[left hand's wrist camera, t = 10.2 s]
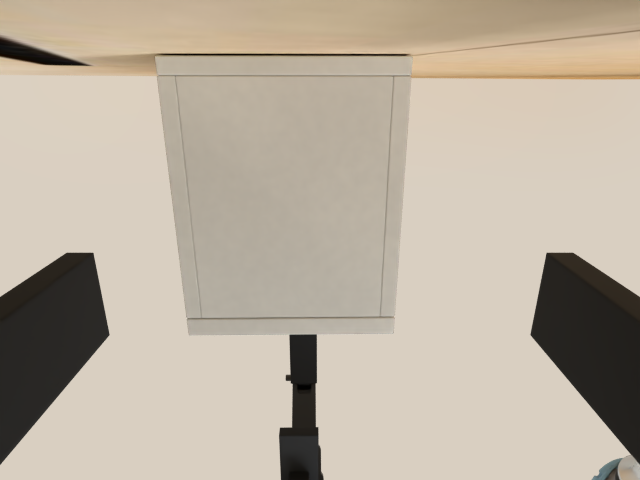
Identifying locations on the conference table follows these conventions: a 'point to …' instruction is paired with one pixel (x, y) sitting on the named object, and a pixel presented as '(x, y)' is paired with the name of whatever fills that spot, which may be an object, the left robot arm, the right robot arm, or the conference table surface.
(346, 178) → the chest
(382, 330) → the lid
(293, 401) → the right robot arm
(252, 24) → the conference table surface
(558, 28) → the conference table surface
